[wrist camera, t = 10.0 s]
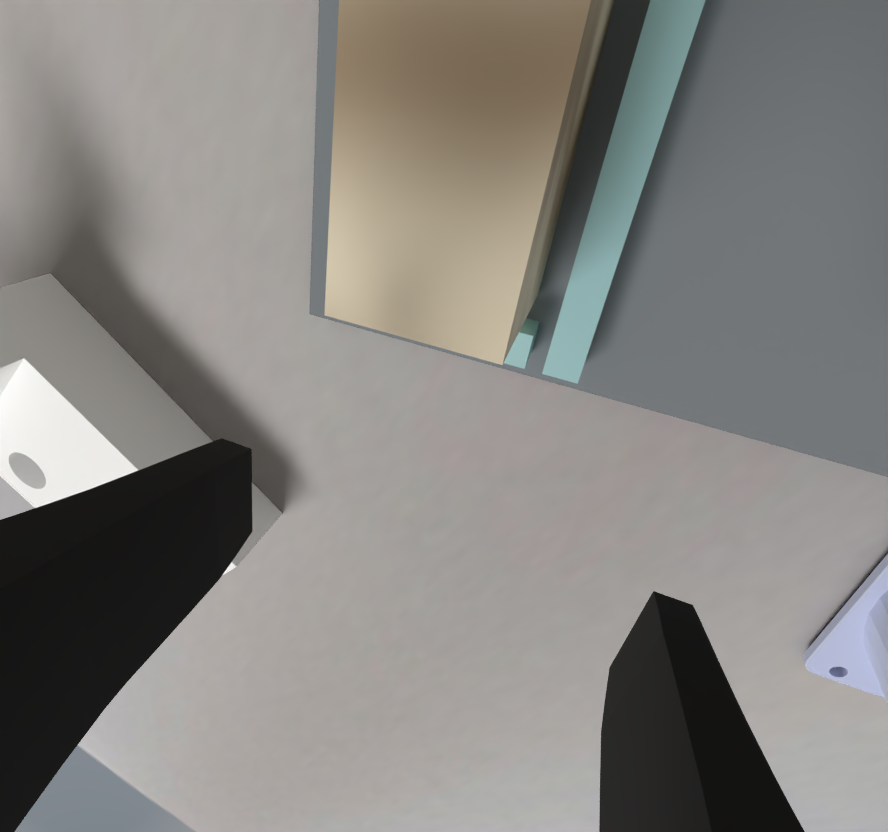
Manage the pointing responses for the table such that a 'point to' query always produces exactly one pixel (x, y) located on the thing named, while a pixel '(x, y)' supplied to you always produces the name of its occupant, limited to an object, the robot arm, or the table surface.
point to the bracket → (83, 405)
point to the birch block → (453, 161)
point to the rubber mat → (727, 228)
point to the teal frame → (617, 186)
